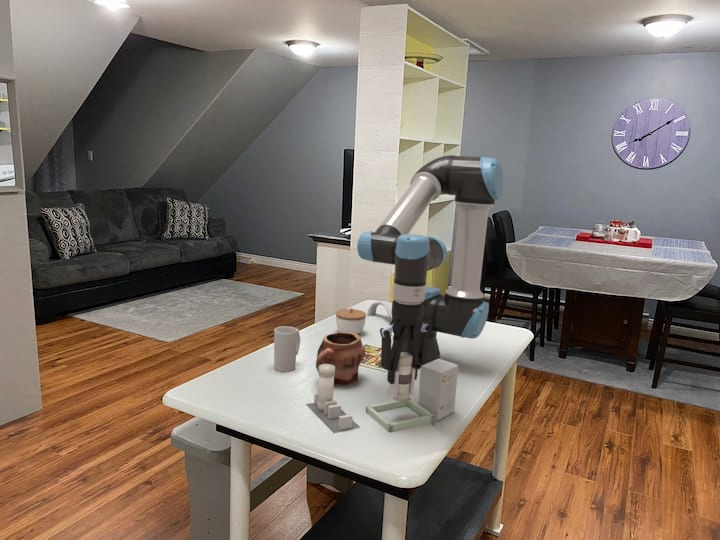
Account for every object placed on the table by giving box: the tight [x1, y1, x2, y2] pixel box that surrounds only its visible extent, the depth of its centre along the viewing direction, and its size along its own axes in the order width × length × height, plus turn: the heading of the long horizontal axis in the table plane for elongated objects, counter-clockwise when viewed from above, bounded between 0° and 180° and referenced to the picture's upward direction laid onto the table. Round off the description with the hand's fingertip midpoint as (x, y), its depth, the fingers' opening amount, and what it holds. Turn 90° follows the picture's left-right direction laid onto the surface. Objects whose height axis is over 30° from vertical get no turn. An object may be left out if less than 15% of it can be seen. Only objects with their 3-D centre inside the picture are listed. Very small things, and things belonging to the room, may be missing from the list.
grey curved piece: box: [366, 300, 392, 322], centre depth 220 cm, size 24×12×7 cm, turn 47°
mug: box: [273, 325, 301, 373], centre depth 169 cm, size 10×7×12 cm, turn 147°
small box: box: [417, 358, 459, 422], centre depth 144 cm, size 8×6×13 cm
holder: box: [305, 364, 361, 434], centre depth 137 cm, size 7×16×12 cm, turn 29°
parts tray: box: [365, 397, 435, 433], centre depth 139 cm, size 13×11×3 cm
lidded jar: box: [335, 307, 367, 335], centre depth 202 cm, size 11×11×9 cm
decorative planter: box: [315, 331, 366, 386], centre depth 158 cm, size 20×12×14 cm, turn 152°
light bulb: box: [392, 352, 413, 402], centre depth 137 cm, size 4×4×11 cm
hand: (401, 393), depth 138 cm, fingers closed on light bulb, 4 cm apart
